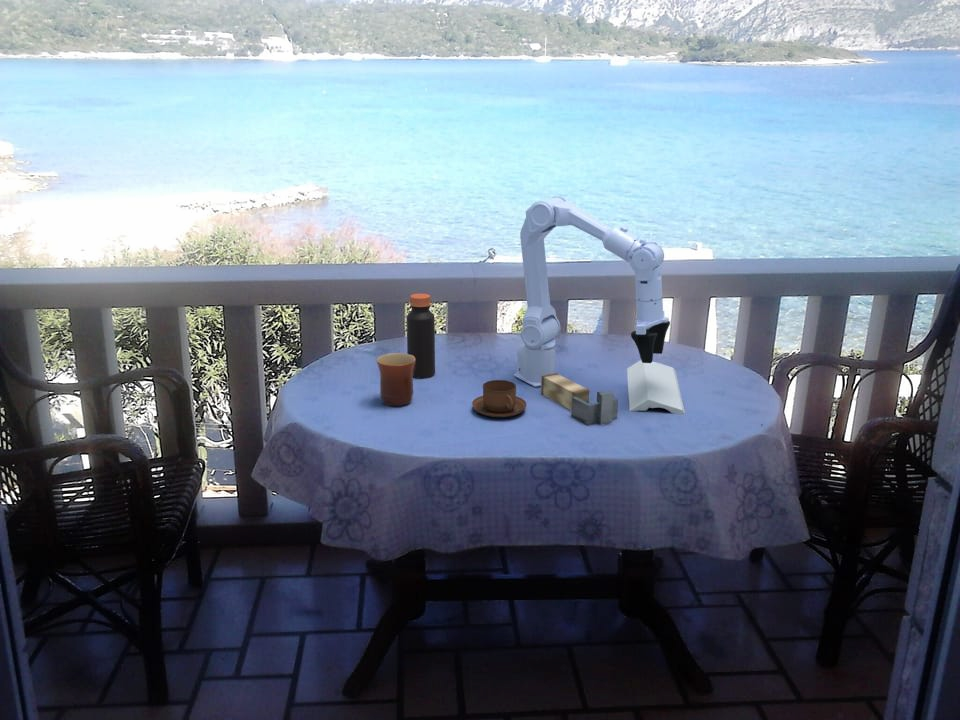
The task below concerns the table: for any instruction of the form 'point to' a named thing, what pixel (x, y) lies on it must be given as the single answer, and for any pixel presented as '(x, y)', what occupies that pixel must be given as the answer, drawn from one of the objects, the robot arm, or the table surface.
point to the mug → (396, 378)
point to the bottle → (421, 335)
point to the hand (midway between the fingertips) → (652, 357)
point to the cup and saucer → (499, 399)
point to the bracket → (595, 409)
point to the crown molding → (653, 387)
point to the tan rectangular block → (562, 390)
